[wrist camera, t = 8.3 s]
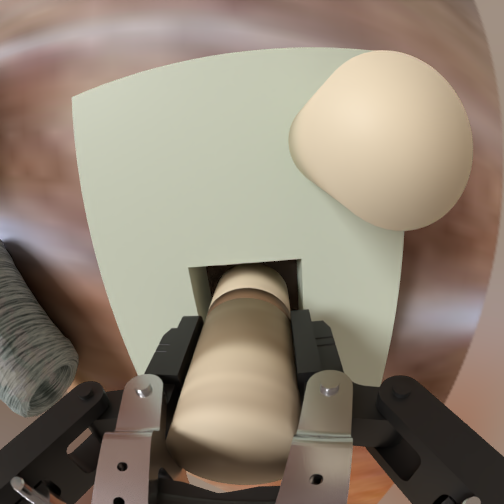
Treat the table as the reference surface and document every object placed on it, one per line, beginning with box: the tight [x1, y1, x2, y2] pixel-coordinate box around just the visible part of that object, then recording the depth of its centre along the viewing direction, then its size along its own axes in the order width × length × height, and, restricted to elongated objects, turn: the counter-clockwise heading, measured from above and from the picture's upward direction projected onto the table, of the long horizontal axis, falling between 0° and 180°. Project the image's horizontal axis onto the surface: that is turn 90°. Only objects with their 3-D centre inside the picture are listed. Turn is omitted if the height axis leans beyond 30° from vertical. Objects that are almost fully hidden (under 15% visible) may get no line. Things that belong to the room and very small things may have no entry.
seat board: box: [72, 47, 473, 387], centre depth 11 cm, size 18×14×9 cm
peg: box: [166, 263, 302, 485], centre depth 10 cm, size 4×4×9 cm
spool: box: [0, 240, 78, 417], centre depth 14 cm, size 14×10×10 cm
